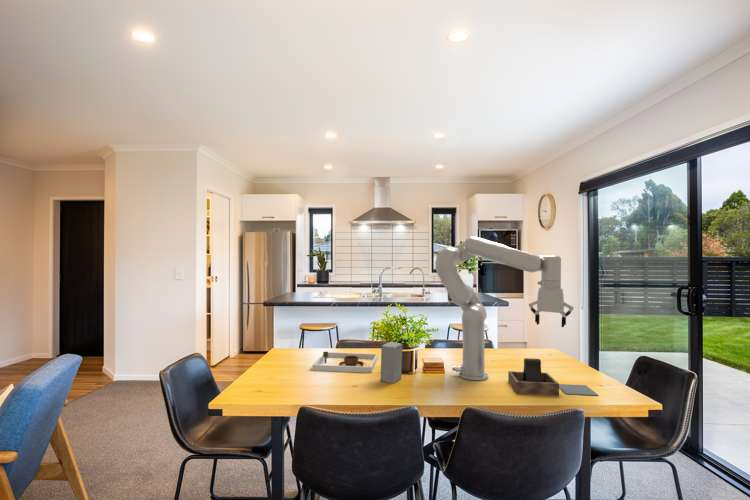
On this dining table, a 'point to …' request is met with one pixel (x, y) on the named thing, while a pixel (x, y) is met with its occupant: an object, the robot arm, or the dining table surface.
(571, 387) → the mat
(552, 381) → the walnut crate
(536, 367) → the door stopper
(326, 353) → the place setting
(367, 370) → the serving tray rim
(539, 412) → the dining table surface
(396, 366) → the skincare box
